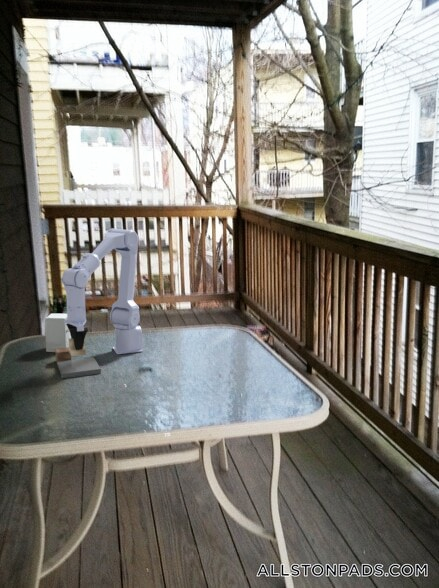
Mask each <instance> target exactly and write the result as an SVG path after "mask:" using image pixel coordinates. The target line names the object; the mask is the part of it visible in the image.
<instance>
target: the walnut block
mask: <svg viewBox="0 0 439 588" xmlns="http://www.w3.org/2000/svg"><path fill="white" fill-rule="evenodd" d="M55 351H56V352H55V362H56V363H57V362H58V361H67V360H72V356H71V354H70V352H69V347H66V348H57V349H55Z"/></svg>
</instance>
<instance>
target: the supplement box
mask: <svg viewBox="0 0 439 588" xmlns="http://www.w3.org/2000/svg"><path fill="white" fill-rule="evenodd" d="M64 320H67V313H50V314H49V315H48V316H46V317H45V318H44V328H45V351H46V352H48V353H56V351H55V349H57V348H66V347H69V339H71V335H70V331H69V329H68V327H67V325H66V324H68V323H64Z"/></svg>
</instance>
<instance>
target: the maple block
mask: <svg viewBox="0 0 439 588" xmlns="http://www.w3.org/2000/svg"><path fill="white" fill-rule="evenodd" d="M69 352H70V354H71V357H76V356H85V355H86V354H87V353H86V352H87V351H86V339H84V345H83V349H81V350H76V349H75V345H74V340H73V338H71V339H69Z"/></svg>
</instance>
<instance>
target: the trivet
mask: <svg viewBox="0 0 439 588" xmlns="http://www.w3.org/2000/svg"><path fill="white" fill-rule="evenodd" d="M56 366H57V369H58V371H59V373H60V376H61V378H62V379H67V378H76V377H83V376H90V375H98V374H101V373H102V369H101V367H100V365H99V363H98V362H97V360H96V359H95V358H94V357H87V358H78V359H71V360H67V361H58V362H56Z"/></svg>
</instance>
